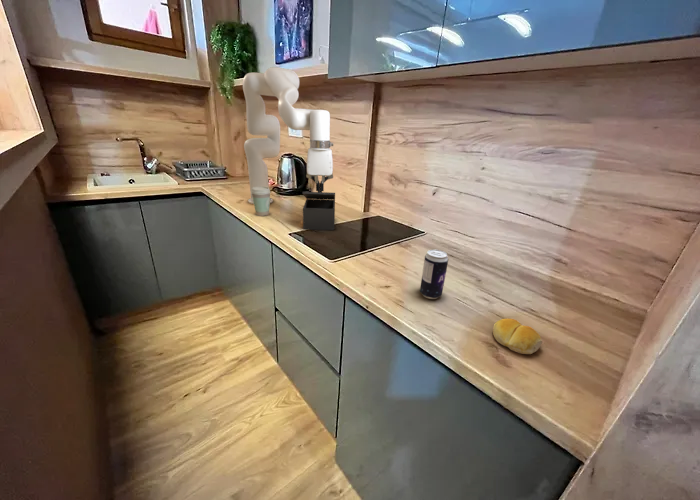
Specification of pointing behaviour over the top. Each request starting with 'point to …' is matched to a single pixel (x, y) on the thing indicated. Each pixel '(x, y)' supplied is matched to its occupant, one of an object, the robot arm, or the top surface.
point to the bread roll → (516, 336)
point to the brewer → (319, 214)
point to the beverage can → (434, 274)
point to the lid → (319, 195)
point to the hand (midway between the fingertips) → (319, 192)
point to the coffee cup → (261, 200)
